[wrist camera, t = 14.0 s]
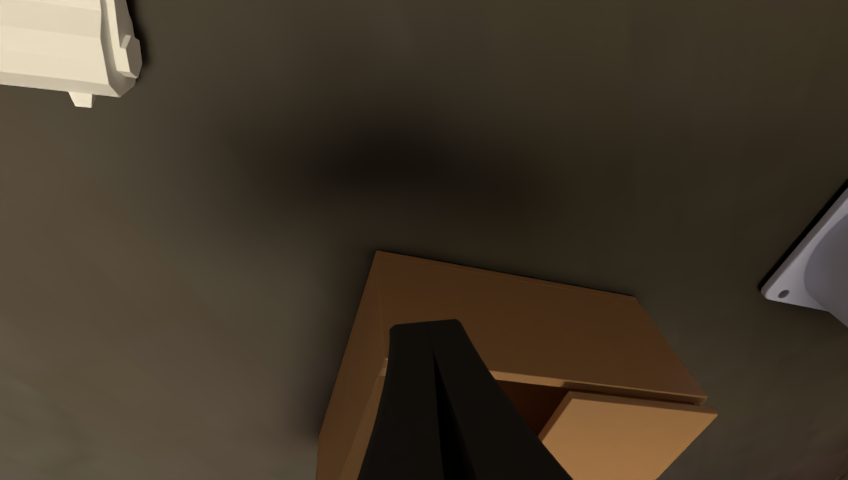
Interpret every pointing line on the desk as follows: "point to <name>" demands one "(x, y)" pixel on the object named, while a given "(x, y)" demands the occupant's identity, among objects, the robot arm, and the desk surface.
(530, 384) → the carton
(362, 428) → the flap
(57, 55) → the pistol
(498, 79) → the desk surface
